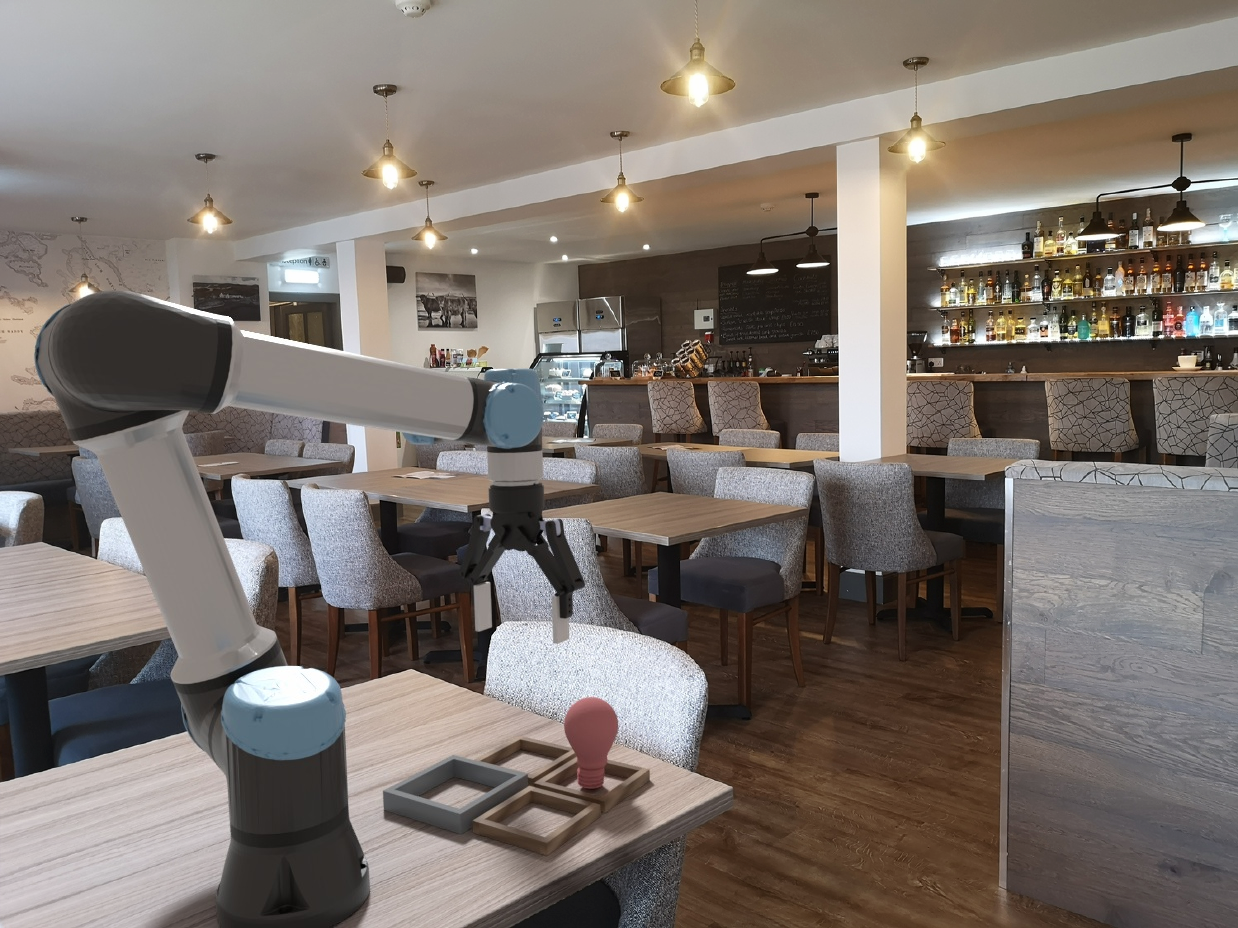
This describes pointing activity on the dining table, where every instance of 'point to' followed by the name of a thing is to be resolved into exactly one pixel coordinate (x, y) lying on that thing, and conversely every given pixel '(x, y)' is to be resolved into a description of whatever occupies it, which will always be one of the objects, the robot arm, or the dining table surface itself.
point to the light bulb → (591, 738)
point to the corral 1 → (457, 820)
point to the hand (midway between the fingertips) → (521, 635)
